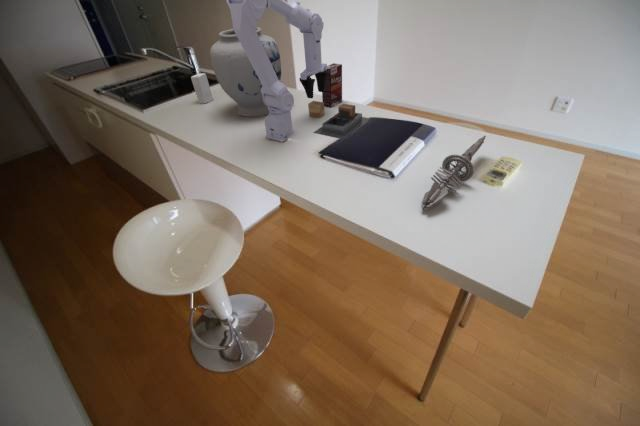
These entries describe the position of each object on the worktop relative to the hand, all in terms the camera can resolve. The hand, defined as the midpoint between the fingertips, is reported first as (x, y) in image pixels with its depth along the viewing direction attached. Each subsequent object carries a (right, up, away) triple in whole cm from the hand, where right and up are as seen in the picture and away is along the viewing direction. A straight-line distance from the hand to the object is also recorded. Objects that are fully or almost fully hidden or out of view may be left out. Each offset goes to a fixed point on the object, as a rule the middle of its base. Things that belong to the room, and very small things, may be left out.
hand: (315, 94), depth 109 cm
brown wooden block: (+12, -11, -2) cm, 16 cm away
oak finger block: (+1, -7, +6) cm, 9 cm away
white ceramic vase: (-26, 0, +17) cm, 32 cm away
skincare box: (-53, +9, +30) cm, 62 cm away
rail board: (+10, -14, -3) cm, 17 cm away
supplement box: (+7, +1, +15) cm, 17 cm away
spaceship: (+37, -37, -33) cm, 62 cm away
